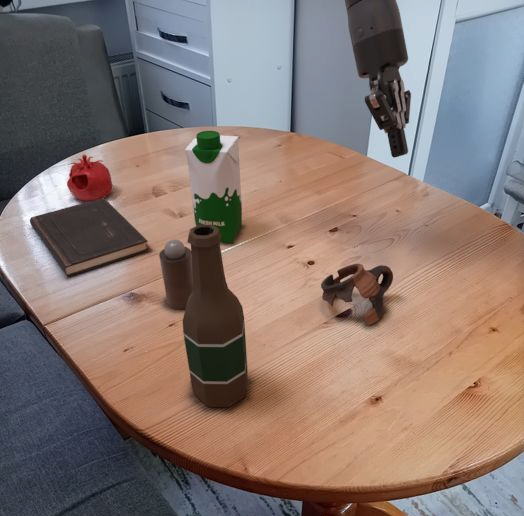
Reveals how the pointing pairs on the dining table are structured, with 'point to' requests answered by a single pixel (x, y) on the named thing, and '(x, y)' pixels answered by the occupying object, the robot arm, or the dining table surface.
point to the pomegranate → (89, 180)
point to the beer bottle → (213, 326)
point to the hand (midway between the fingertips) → (400, 155)
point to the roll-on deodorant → (177, 273)
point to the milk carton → (216, 182)
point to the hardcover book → (88, 236)
